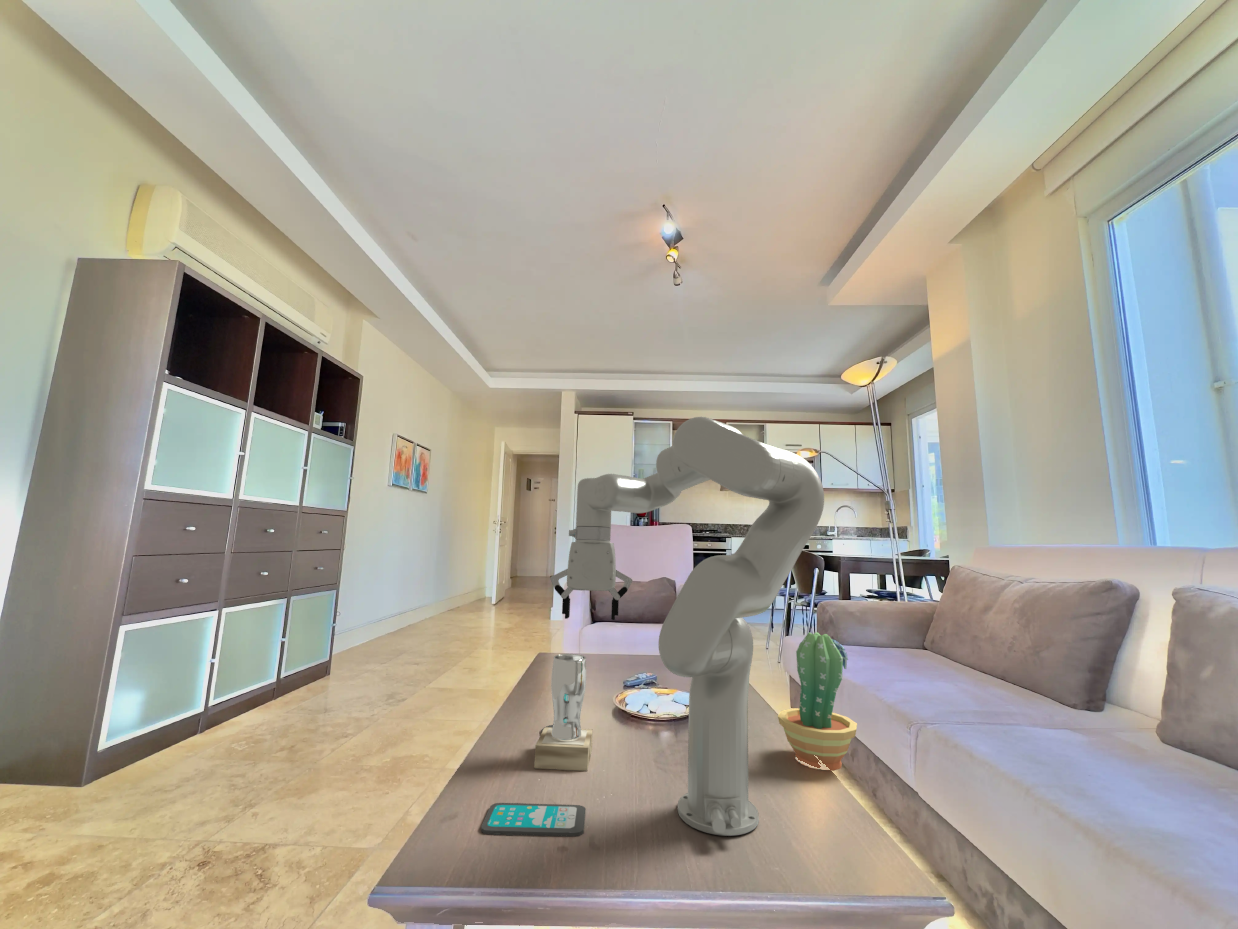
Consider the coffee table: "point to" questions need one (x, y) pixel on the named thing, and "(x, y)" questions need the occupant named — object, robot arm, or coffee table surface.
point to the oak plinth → (563, 752)
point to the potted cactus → (819, 704)
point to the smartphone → (534, 819)
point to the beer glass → (568, 696)
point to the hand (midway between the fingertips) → (590, 618)
